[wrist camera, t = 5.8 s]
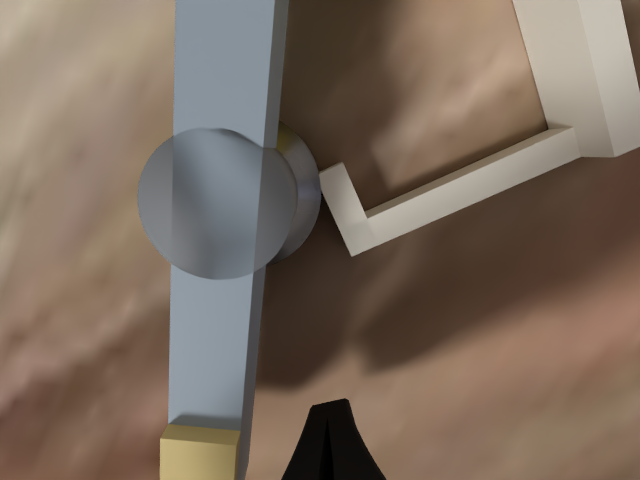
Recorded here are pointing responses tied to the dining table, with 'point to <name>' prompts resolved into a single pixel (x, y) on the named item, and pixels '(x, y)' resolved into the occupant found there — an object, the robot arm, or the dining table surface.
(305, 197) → the base
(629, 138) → the cream l-shaped bracket
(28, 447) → the dining table surface
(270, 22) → the lever
